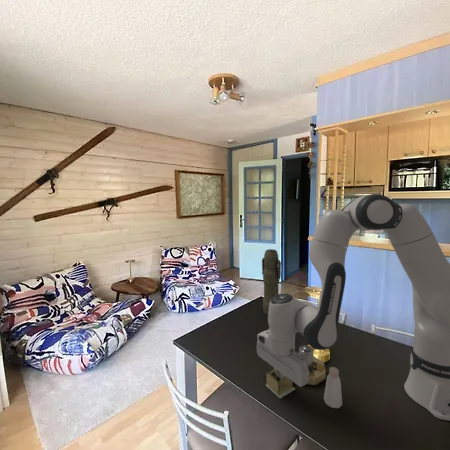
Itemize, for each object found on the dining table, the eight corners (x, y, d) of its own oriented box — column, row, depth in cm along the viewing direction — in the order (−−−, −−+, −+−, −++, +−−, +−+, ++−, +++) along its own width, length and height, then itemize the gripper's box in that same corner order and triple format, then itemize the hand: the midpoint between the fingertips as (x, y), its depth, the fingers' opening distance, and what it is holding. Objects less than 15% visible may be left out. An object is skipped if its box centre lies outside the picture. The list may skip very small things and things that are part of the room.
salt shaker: (331, 410, 77) (332, 377, 76) (320, 397, 82) (320, 365, 81) (346, 406, 79) (347, 373, 77) (334, 393, 84) (335, 362, 82)
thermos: (266, 306, 150) (266, 247, 146) (284, 311, 142) (284, 250, 138) (257, 311, 143) (257, 250, 139) (276, 317, 136) (276, 253, 131)
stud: (316, 369, 95) (317, 344, 94) (314, 381, 89) (314, 355, 88) (298, 364, 98) (298, 340, 97) (294, 375, 92) (294, 350, 91)
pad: (280, 377, 92) (280, 376, 92) (295, 389, 86) (295, 388, 86) (265, 385, 88) (265, 384, 88) (280, 398, 82) (280, 398, 82)
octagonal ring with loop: (304, 356, 103) (304, 346, 102) (332, 375, 92) (332, 364, 91) (259, 378, 91) (259, 367, 90) (285, 403, 80) (286, 390, 79)
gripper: (313, 355, 78) (312, 396, 80) (266, 327, 95) (266, 361, 96) (300, 363, 75) (299, 406, 76) (253, 332, 91) (253, 368, 93)
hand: (280, 381), depth 86 cm, fingers closed
